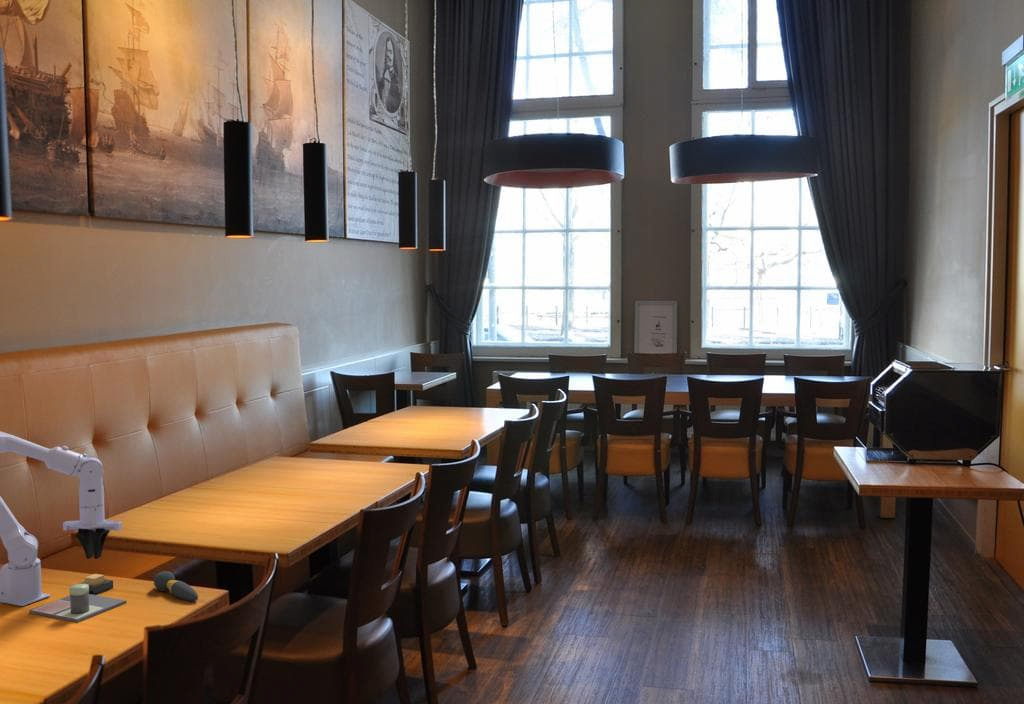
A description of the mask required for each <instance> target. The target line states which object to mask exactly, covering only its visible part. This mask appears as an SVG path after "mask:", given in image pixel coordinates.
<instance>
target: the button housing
mask: <svg viewBox="0 0 1024 704" xmlns="http://www.w3.org/2000/svg"><path fill="white" fill-rule="evenodd" d="M104 580H105V582H103V583H100V584H97V585H95V586H93V585H89V594H92V595H98V594H100V593H104V592H106V591H109V590H112V589H114V580H113V579H109V578H108V579H107V578H104ZM78 584H85V581H82V582H80V583H78ZM111 588H112V589H111Z"/></svg>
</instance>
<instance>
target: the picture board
mask: <svg viewBox="0 0 1024 704" xmlns="http://www.w3.org/2000/svg"><path fill="white" fill-rule="evenodd" d="M126 604H127V600H125V599H122V598H121V599H120V598H113V597H108V596H102V595H98V594H96V595H92V594H89V611H88V612H86V613H83V614H71V608H70V595H68V596H64V597H61V598H59V599H56V600H54V601H51V602H48V603H45V604H43V605H40V606H37V607H35V608H31V609H30V610H29V611H28V613H29V614H33V615H38V616H43V617H49V618H54V619H59V620H65V621H68V622H75V623H80V622H82V621H85V620H87V619H90V618H92V617H95V616H98V615H99V614H102V613H105V612H107V611H110V610H112V609H115V608H117V607H120V606H123V605H126Z"/></svg>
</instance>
